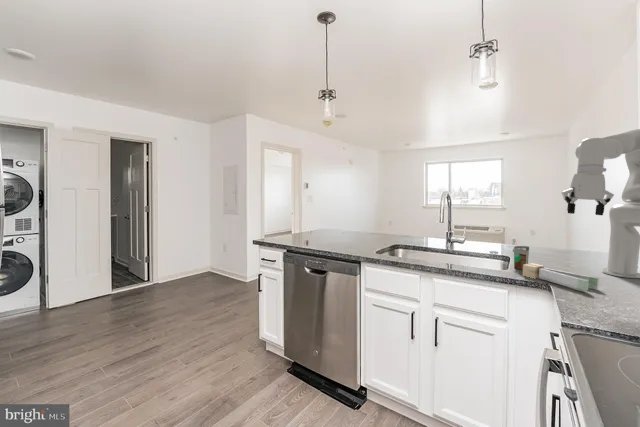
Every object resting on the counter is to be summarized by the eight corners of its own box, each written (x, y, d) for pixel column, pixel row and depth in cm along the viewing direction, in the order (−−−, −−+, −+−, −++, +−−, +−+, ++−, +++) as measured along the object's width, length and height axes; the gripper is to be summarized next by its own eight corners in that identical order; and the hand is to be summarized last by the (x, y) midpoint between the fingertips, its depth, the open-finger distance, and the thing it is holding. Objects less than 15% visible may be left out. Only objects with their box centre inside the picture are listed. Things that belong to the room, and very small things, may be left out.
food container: (513, 264, 153) (514, 244, 152) (528, 266, 149) (529, 246, 148) (509, 269, 143) (510, 248, 142) (525, 271, 139) (526, 250, 139)
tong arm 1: (538, 278, 128) (539, 268, 128) (541, 277, 128) (542, 268, 128) (584, 292, 111) (585, 280, 111) (587, 291, 112) (588, 280, 111)
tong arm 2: (542, 277, 129) (543, 268, 128) (544, 277, 130) (544, 267, 129) (596, 289, 114) (597, 278, 114) (598, 288, 115) (599, 277, 115)
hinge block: (531, 274, 136) (532, 263, 135) (543, 277, 131) (544, 265, 131) (522, 275, 133) (523, 264, 132) (534, 278, 128) (535, 267, 128)
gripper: (608, 172, 121) (603, 215, 122) (559, 170, 124) (554, 212, 125) (623, 170, 114) (617, 216, 115) (570, 169, 117) (565, 213, 118)
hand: (584, 214), depth 120 cm, fingers open, 9 cm apart
